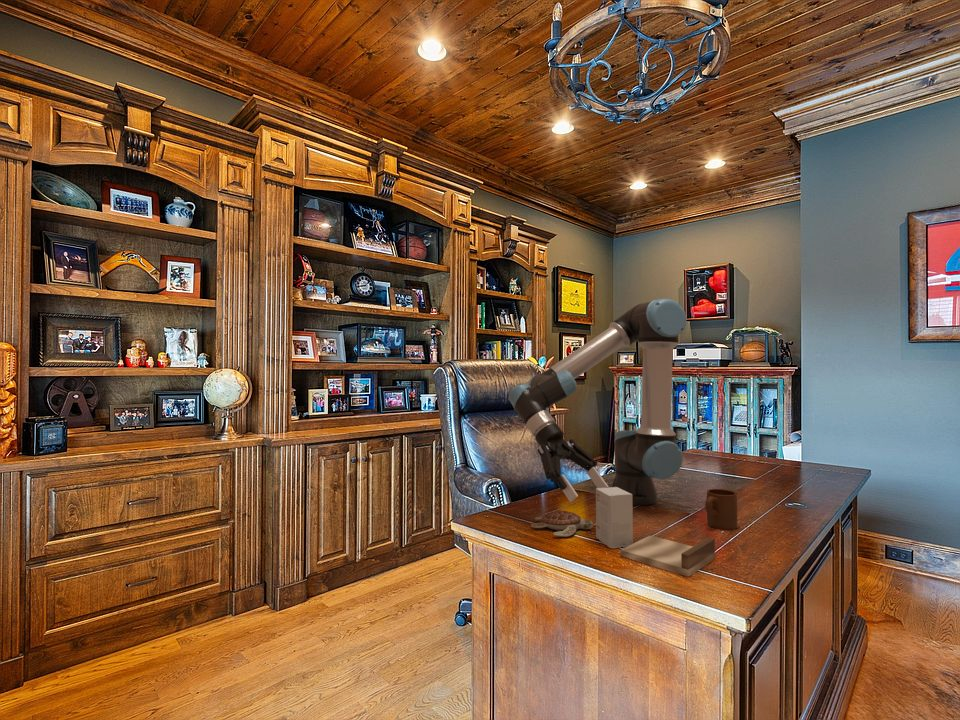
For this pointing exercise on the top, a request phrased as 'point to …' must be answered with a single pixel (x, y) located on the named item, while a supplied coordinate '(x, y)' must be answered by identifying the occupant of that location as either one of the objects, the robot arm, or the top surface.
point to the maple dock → (672, 554)
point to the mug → (721, 509)
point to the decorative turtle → (563, 523)
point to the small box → (614, 517)
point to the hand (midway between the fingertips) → (590, 494)
